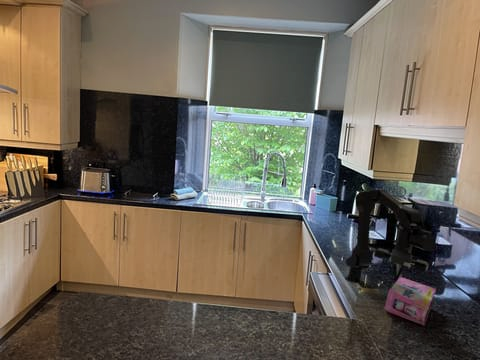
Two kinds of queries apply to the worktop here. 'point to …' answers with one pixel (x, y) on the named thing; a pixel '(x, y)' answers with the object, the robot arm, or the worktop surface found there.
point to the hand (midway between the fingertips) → (396, 280)
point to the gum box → (410, 300)
